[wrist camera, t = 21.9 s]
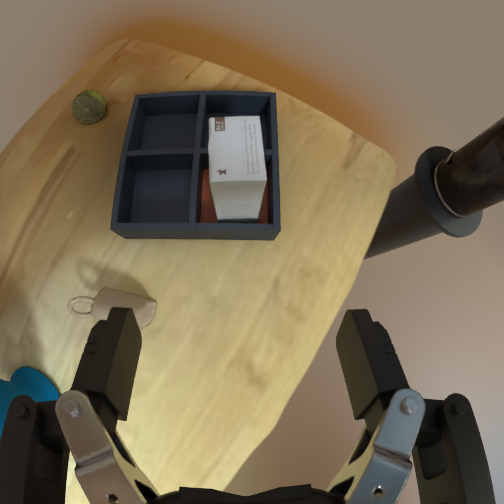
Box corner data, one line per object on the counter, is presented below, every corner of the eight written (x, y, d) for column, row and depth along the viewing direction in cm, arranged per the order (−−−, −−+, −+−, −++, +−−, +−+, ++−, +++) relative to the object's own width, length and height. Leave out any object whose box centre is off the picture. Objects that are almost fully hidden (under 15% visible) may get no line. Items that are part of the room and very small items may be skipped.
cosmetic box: (257, 226, 32) (273, 184, 20) (216, 228, 32) (208, 186, 20) (253, 174, 33) (265, 113, 21) (214, 176, 33) (207, 115, 21)
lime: (113, 114, 34) (102, 93, 29) (85, 134, 34) (71, 115, 29) (102, 97, 35) (91, 77, 30) (76, 117, 34) (62, 98, 29)
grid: (270, 113, 36) (275, 92, 31) (273, 240, 33) (280, 231, 28) (143, 114, 35) (134, 94, 30) (124, 238, 32) (110, 229, 27)
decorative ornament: (150, 337, 30) (136, 344, 25) (87, 315, 30) (64, 316, 25) (158, 302, 31) (145, 302, 26) (94, 282, 31) (72, 278, 25)
